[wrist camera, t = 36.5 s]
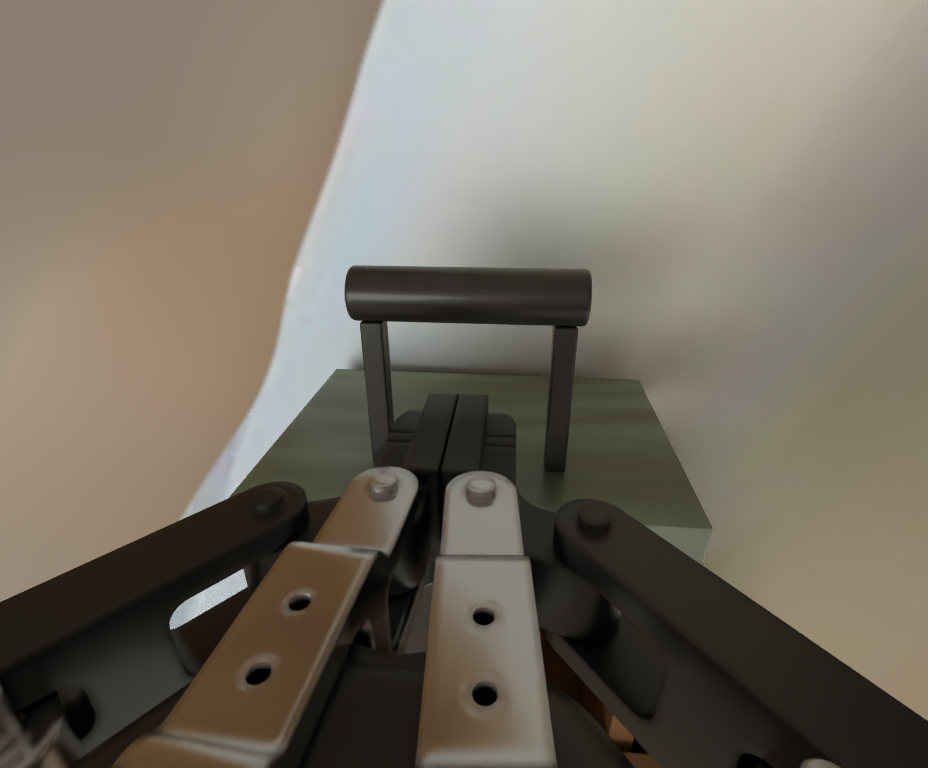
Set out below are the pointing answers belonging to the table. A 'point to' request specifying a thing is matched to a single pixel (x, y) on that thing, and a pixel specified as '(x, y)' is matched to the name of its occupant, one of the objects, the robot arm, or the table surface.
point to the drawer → (522, 397)
